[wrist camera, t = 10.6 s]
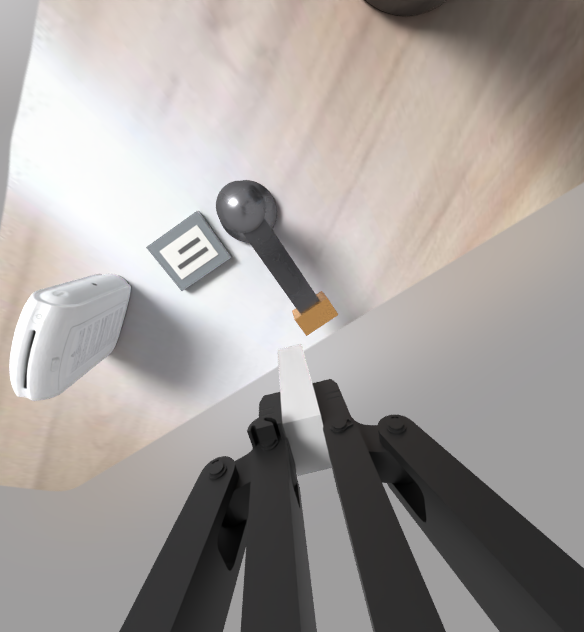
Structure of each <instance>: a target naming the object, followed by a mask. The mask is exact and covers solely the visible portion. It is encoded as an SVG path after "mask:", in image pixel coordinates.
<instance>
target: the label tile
mask: <svg viewBox="0 0 584 632" xmlns="http://www.w3.org/2000/svg"><path fill="white" fill-rule="evenodd" d="M146 248H147V249H148V250H149V251H150V253H151V254H152V255H153V256H154V258H155V259H156V260H157V261H158V262H159V264H160V265H161V266H162V267H163V269H164V270H165V271H166V272H167V274H168V275H169V276H170V277H171V278H172V280H173V281H174V282H175V283H176V285H177V286H178V287H179V288H180V290H181V291H183V290H185V289H186V288H188V287H189V286H191V285H192V284H193V283H195V282H196V281H198V280H199V279H201V278H202V277H204V276H205V275H207V274H208V273H210V272H211V271H213V270H214V269H215V268H217V267H218V266H220V265H221V264H223V263H224V262H226V261H227V260H229V259H230V258H231V255H230V254H229V253H228V251H227V250H226V248H225V247H224V246H223V244H222V243H221V241H220V240H219V239H218V237H217V236H216V234H215V233H214V231H213V230H212V229H211V227H210V226H209V224H208V223H207V222H206V220H205V219H204V217H203V216H202V215H201V213H200V212H199V211H196V212H195V213H194V214H192V215H191V216H189V217H188V218H187V219H185V220H184V221H182V222H181V223H180V224H178V225H177V226H175V227H174V228H173V229H171V230H170V231H168V232H167V233H166V234H164V235H163V236H161V237H160V238H159V239H157V240H156V241H154V242H153V243H152V244H150V245H149V246H147V247H146Z"/></svg>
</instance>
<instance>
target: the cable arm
mask: <svg viewBox="0 0 584 632" xmlns="http://www.w3.org/2000/svg"><path fill="white" fill-rule="evenodd" d="M216 211H217V214H218V217H219V219H220V221H221V222H222V224H223V225H224V226H225V227H226V228H228V229H229V230H231V231H233V232H236V233H243V234H244V236H245V237H246V238H247V240H248V241H249V243H250V244H251V245H252V247H253V248H254V250H255V251H256V252H257V254H258V255H259V257H260V258H261V259H262V261H263V262H264V264H265V265H266V266H267V268H268V269H269V271H270V272H271V273H272V275H273V276H274V278H275V279H276V280H277V282H278V283H279V285H280V286H281V287H282V289H283V290H284V292H285V293H286V294H287V296H288V297H289V299H290V300H291V302H292V303H293V304H294V306H295V307H296V309H294V310H293V311H292V312H293V315H294V319H295V321H296V322H297V323H298V325H299V326H300V328H301V329H302V330H303V332H304V333H305V334H306V336H307V335H309V334H310V333H312V332H313V331H315V330H316V329H318V328H319V327H321V326H322V325H324V324H325V323H327V322H328V321H330V320H331V319H333V318H334V317H336V316H337V315H338V313H337V312H336V310H335V309H334V307H333V306H332V304H331V303H330V301H329V300H328V298H327V297H326V296H325V295H324V293H323V292H322V291H321V292H319V293H318V294H315V293H314V291H313V290H312V288H311V287H310V285H309V284H308V282H307V281H306V279H305V278H304V276H303V275H302V273H301V272H300V270H299V269H298V267H297V266H296V264H295V263H294V262H293V260H292V259H291V257H290V256H289V254H288V253H287V251H286V250H285V248H284V247H283V245H282V244H281V242H280V241H279V239H278V238H277V236H276V235H275V233H274V232H273V230H272V229H271V227H270V226H269V224H268V223H267V221H266V220H265V214H266V206H265V201H264V198H263V196H262V194H261V192H260V191H259V190H258V189H257V188H256V187H255V186H254V185H252V184H250V183H248V182H245V181H234V182H231V183H229V184H227V185H226V186H224V187H223V188H222V190H221V191H220V192H219V194H218V197H217V201H216Z"/></svg>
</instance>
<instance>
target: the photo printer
mask: <svg viewBox="0 0 584 632" xmlns="http://www.w3.org/2000/svg"><path fill="white" fill-rule="evenodd" d="M130 291H131V285H129V284H128V283H127V281H126V280H125V279H123V278H122V277H120V276H118V275H115V274H105V275H102V274H96V275H92V276H88V277H84V278H81V279H77V280H73V281H70V282H66V283H62V284H59V285H55V286H52V287H48V288H44V289H41V290H38V291H35V292H34V293H33V294H32V295H31V296H30V298H29V299H28V301H27V302H26V304H25V306H24V308H23V310H22V313H21V315H20V318H19V321H18V324H17V327H16V330H15V334H14V338H13V342H12V348H11V354H10V380H11V384H12V387H13V390H14V392H15V394H16V395H17V396H19V397H26V398H29V399H30V400H33V401H36V400H45V399H49V398H52V397H55V396H57V395H59V394H61V393H62V392H64V391H65V390H66V389H67V388H68V387H70V386H71V385H72V384H73V383H75V382H76V381H77V380H78V379H79V378H81V377H82V376H83V375H84V374H86V373H87V372H88V371H89V370H91V369H92V368H93V367H94V366H96V365H97V364H98V363H99V362H101V361H102V360H103V359H104V358H106V357H107V356H108V355H109V354H110V353H111V352H112V351H113V349H114V347H115V345H116V343H117V340H118V337H119V334H120V331H121V328H122V324H123V320H124V317H125V313H126V310H127V306H128V302H129V297H130Z"/></svg>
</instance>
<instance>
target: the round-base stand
mask: <svg viewBox="0 0 584 632" xmlns="http://www.w3.org/2000/svg"><path fill="white" fill-rule="evenodd" d="M243 181H245V182H248V183H250V184H252V185H254V186H255V187H256V188H257V189H258V190H259V191H260V192H261V194H262V196H263V198H264V201H265V206H266V214H265V220H266V221H267V223H268V224H269V226H270V227H271V229H272V228H273V227H274V224H275V221H276V216H277V210H276V204H275V201H274V199H273V197H272V195H271V194H270V192H269V191H268V190H267V189H266V188H265V187H264V186H262V185H261V184H259V183H257V182H254V181H249V180H243ZM220 222H221V221H220ZM221 224H222V222H221ZM222 226H223V228H224V229H225V230H226V232H227V233H228V234H229V235H231V236H232V237H234V238H235V239H237V240H240V241H244V242H249V241H248V240H247V238H246V237H245V236H244V234H243V233H236V232H233V231H231V230H229V229H228V228H226V227H225V226H224V225H223V224H222Z"/></svg>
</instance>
